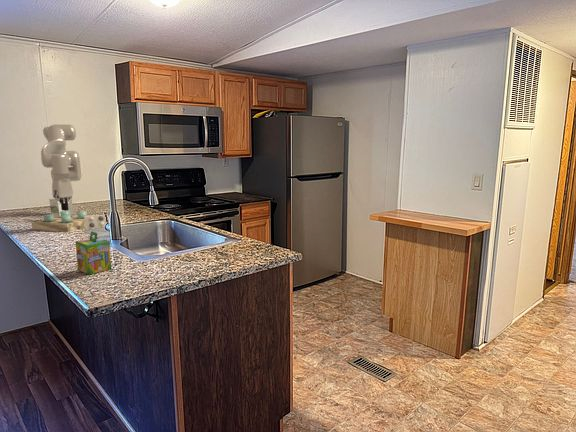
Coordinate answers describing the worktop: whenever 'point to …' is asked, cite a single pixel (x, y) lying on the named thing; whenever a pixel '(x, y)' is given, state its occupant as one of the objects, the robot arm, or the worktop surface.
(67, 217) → the button
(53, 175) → the robot arm
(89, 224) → the plaque
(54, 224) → the board
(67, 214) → the button
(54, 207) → the syrup box
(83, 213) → the button
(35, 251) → the worktop surface
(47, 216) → the button
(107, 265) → the chalk box
